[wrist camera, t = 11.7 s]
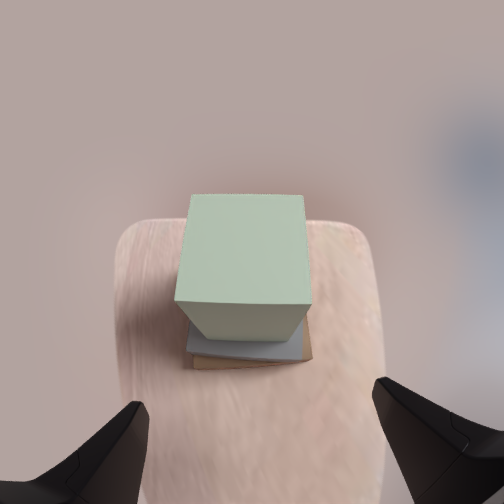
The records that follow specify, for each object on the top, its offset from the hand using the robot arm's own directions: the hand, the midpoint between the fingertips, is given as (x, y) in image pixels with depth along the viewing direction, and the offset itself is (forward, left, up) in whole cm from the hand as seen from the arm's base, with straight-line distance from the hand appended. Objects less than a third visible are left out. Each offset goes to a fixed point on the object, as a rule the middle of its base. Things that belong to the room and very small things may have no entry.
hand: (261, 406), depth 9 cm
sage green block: (+7, 0, -8) cm, 11 cm away
